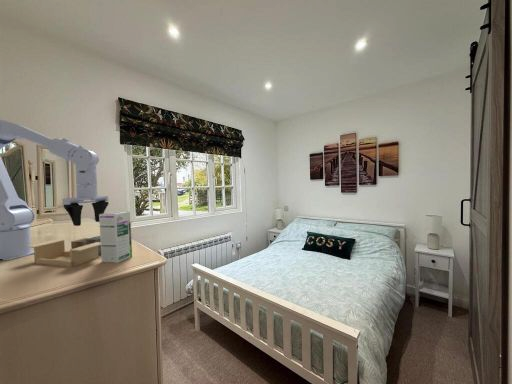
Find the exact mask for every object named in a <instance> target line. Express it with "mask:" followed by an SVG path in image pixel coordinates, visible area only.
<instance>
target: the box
mask: <svg viewBox="0 0 512 384" xmlns="http://www.w3.org/2000/svg"><path fill="white" fill-rule="evenodd" d="M95 242H101V239H100V235H96V236H93V237H88V238H87V237H84V238H83V237H82V238H78V239H76V240H75V239H74V240H71V242H70V244H71V245H70V247H71V248H70V249H73V248H77V247H81V246H84V245H88V244H92V243H95ZM98 256H101V245H100V246H98Z"/></svg>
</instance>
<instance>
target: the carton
mask: <svg viewBox="0 0 512 384" xmlns="http://www.w3.org/2000/svg"><path fill="white" fill-rule="evenodd" d="M65 245H66V244H65V240H64V239H52V240H47V241H43V242H40V243H34V244H31V245H29V246H26V247H30V248H31V249H32V248H33V251H34V254H33V255H34V264H38V265H40V264H41V265H49V266H58V267H59V266H60V267H69V268H70V267H71V268H73V267H76V266H79V265H82V264H84V263H87V262H90V261H93V260H97V259H99V255H98V246H100V245H101V242H95V243H92V244H88V245H84V246H81V247H77V248H73V249H71V248H70V249H69V250H65Z"/></svg>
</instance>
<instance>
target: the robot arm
mask: <svg viewBox="0 0 512 384" xmlns="http://www.w3.org/2000/svg"><path fill="white" fill-rule="evenodd" d="M23 139H25V140H27V141H30V142H33V143H35V144H38V145H40V146H43V147H45V148H47V149H48V151H49V153H50V154H53V155H54V156H57V157H59V158H63V159H64V160H66V161H70V162H72V163H73V164H74V166H75V189H76V197H69V198H68V197H67V198H62V199H61V200H62V206H63V209H64V210H65V211H66V212H67V213H68V215H69V217H70V219H71V222H72V224H73V227H74V226H76V227H80V226H81V225H82V224H81V223H82V210H83V208H84V205H83V204H88V203H89V204H90V203H91V206H92V208H93V211H94V212H93V213H94V221H95V222H96V223H97V222H98V223H100V221H99V215H100V214H104V213H105V212H106V210H107V207H109V195H101V196H99V195H98V179H97V178H98V175H97V165H98V163H99V162H100V161H99V160H100V159H99V155H98V154H97V153H96V152H94V151H93V150H90V149H85V147H84V146H83V145H77V144H74V143H72V142H70V140H69V139H68V138H65V137H63V138H61V137H56V138H50V137H48V136H46V135H44V134H42V133H39V132H38V131H35V130H33V129H31V128H28V127H26V126H24V125H21V124H17V123H14V122H11V121H7V120H5V119H1V118H0V151H1V150H2V149H3V148H5V147H6V146H7V145H10V144H11V143H13V142H14V141H16V140H23ZM4 163H5V162H3V160H2V157H1V155H0V259H3V260H2V261H10V260H15V259H19V258H23V257H27V256H30V255H31V256H32V255H34V250H32V248H30V247H26V246H29V245H32V242H31V241H32V239H31V238H32V237H31V224H32V222H34V220H35V218H36V213H35V212H34V209H32V208H30V207H29V205H28V203H27V201H25V200H23V199H21V198H20V197H19V195H18V193H17V191H16V189H15V187H14V184H13V182H12V179H11V177H10V176H9V173H8V171H7V168H6V166H5V164H4Z"/></svg>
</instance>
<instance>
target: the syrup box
mask: <svg viewBox="0 0 512 384" xmlns="http://www.w3.org/2000/svg"><path fill="white" fill-rule="evenodd" d="M99 221H100V222H99V236H100V239H101V255H100V256H101V257H100V258H101V262H103V263H115V264H118V263H120V262H123V261H125V260H127V259H129V258H132V257H133V246H132V242H133V241H132V224H131V212H130V211H128V210H127V211H126V210H122V211H121V210H119V211H113V212H104V214H100V215H99Z"/></svg>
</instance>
